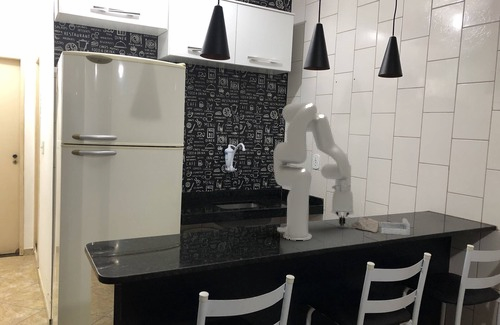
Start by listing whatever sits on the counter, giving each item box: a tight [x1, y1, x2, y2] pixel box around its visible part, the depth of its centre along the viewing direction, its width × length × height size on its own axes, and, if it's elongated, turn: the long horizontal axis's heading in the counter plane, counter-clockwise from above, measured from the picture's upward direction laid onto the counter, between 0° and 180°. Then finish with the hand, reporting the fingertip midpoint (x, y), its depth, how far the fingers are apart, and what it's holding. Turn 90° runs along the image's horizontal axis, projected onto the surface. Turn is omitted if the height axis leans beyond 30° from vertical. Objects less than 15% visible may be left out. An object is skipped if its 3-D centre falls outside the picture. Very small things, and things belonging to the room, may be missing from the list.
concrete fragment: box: [351, 216, 380, 233], centre depth 196 cm, size 7×14×6 cm, turn 37°
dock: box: [378, 217, 411, 236], centre depth 194 cm, size 12×15×5 cm
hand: (342, 225), depth 200 cm, fingers closed
